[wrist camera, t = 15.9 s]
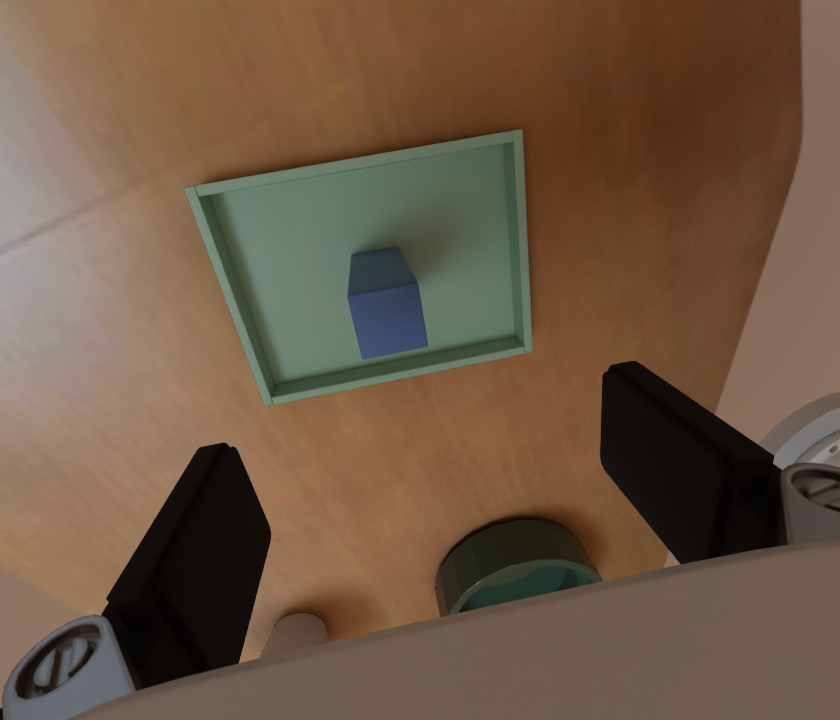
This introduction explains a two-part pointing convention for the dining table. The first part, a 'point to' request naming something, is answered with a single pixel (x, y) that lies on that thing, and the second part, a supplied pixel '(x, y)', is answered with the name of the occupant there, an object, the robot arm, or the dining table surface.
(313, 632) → the cup
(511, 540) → the green bowl
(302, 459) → the dining table surface
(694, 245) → the dining table surface
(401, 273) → the block
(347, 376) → the tray
